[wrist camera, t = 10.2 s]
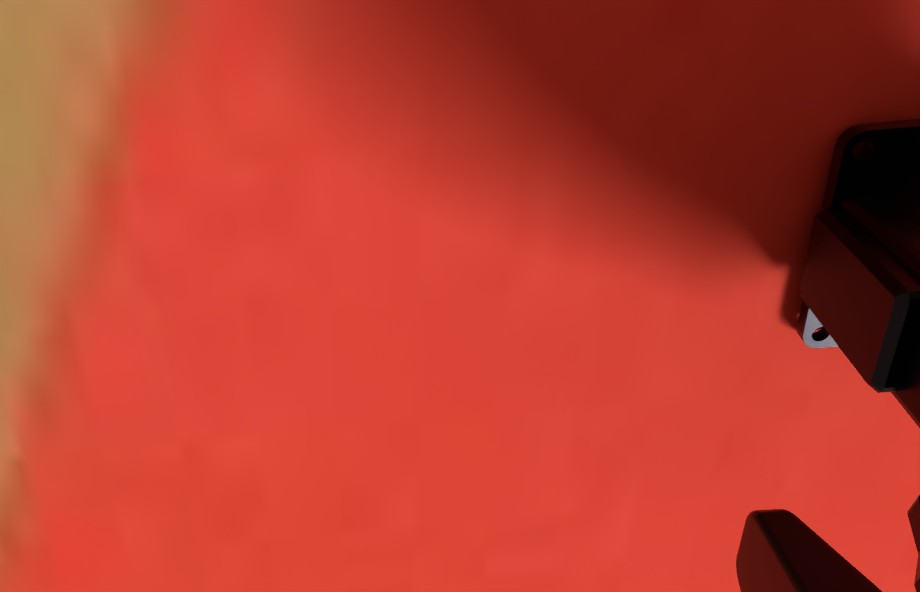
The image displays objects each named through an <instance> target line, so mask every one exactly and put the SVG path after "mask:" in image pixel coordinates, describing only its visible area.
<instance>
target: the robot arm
mask: <svg viewBox="0 0 920 592" xmlns="http://www.w3.org/2000/svg"><path fill="white" fill-rule="evenodd" d="M865 140H866V144H865V146H864V148H863V149H862V150H861V151H860V152H858V153H855V154H853V150H854V148H855V146H856V145H857V144H858V143H860V142H862V141H865ZM799 294H800V297H801V298H802V300H803V302H802V307H801V312H800V316H799V321H798V326H797V333H798V334H799V336H800V337H801V339H802V340H803V341H804V343H805V344H806V345H807V346H809V347H811V348H825V347H837V346H839V347H840V349H841V350H842V351H843V353H844V354H845V355H846V357H847V358H848V359H849V360H850V362H851V363H852V364H853V366H854V367H855V368H856V370H857V371H858V372H859V373H860V375H861V376H862V377H863V379H864V380H865V381H866V382H867V384H868V385H869V386H871V387H872V388H873V389H874V390H875V391H876V392H878V393H880V392H891V393H892V394H893V395H894V396H895V398H896V399H897V400H898V401H899V403H900V404H901V405H902V406H903V408H904V409H905V410H906V411H907V413H908V414H909V415H910V416H911V418H912V419H913V420H914V421H915V423H916V424H917V425H918V426H919V428H920V119H919V120H907V121H896V122H884V123H872V124H861V125H856V126H853V127H851V128H849V129H847V130H846V131H844V132H843V134H842V135H841V136H840V137H839V138H838V140H837V143H836V145H835V150H834V154H833V159H832V164H831V169H830V173H829V178H828V183H827V188H826V192H825V197H824V202H823V207H822V209H821V210H820V211H819V212H818V214H817V215H816V216H815V219H814V223H813V228H812V233H811V238H810V243H809V248H808V253H807V258H806V262H805V267H804V272H803V277H802V282H801V287H800V292H799ZM819 327H822V329H821V330H819V331H818V332H815V333H813V331H814V330H816V329H817V328H819ZM908 517H909V521H910V525H911V528H912V532H913V536H914V540H915V543H916V547H917V551H918V561H917V569H916V576H915V584H914V585H915V588H916V591H917V592H920V495H919V496H918V498H917V499H916V501H915V502H914V503H913V505H912V506H911V508H910V509H909V510H908ZM736 569H737V577H738V581H739V585H740V589H741V592H882V591H881V590H880V589H879V588H877V587H876V586H875V585H874V584H873V583H872V582H871V581H869V580H868V579H867V578H866V577H865V576H864V575H863V574H861V573H860V572H859V571H858V570H857V569H856V568H855V567H853V566H852V565H851V564H850V563H849V562H848V561H847V560H845V559H844V558H843V557H842V556H841V555H840V554H839V553H837V552H836V551H835V550H834V549H833V548H832V547H831V546H830V545H828V544H827V543H826V542H825V541H824V540H823V539H822V538H820V537H819V536H818V535H817V534H816V533H815V532H814V531H812V530H811V529H810V528H809V527H808V526H807V525H806V524H804V523H803V522H802V521H801V520H800V519H799V518H798V517H796V516H795V515H794V514H793V513H791V512H789V511H787V510H783V509H772V510H755V511H752V512H751V513H750V514H749V515H748V516H747V519H746V522H745V526H744V530H743V534H742V538H741V542H740V546H739V550H738V554H737V559H736Z"/></svg>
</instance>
